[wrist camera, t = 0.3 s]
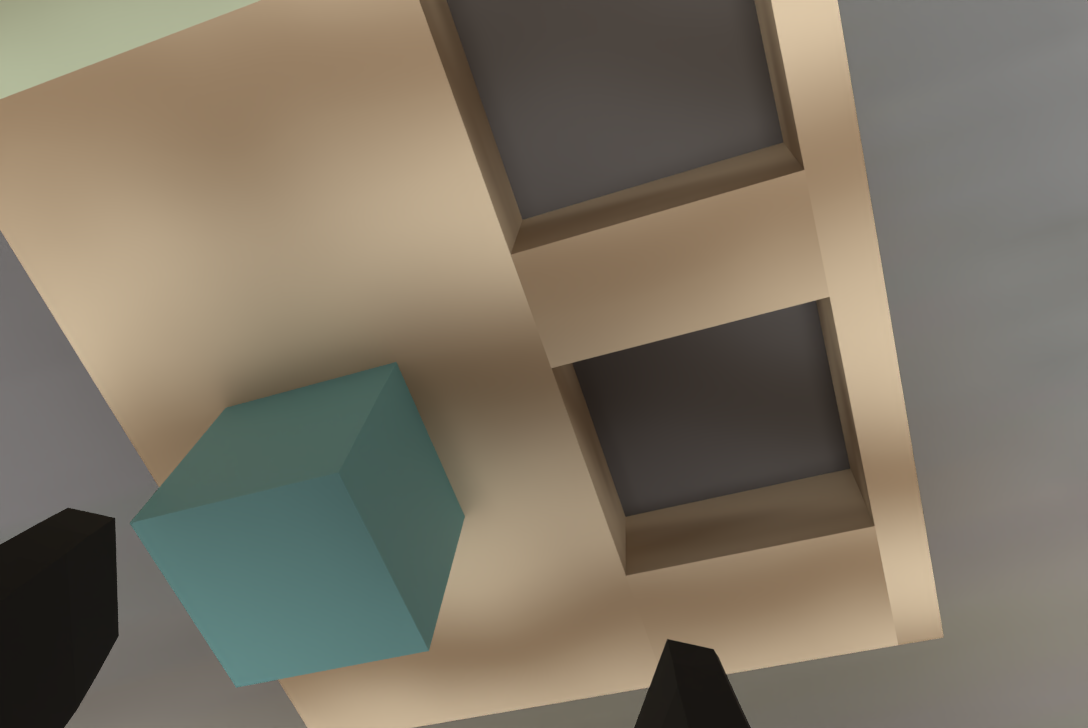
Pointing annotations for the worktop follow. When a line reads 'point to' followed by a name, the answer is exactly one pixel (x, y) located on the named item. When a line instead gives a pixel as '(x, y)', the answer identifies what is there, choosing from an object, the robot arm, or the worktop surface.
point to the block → (309, 529)
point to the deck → (503, 304)
